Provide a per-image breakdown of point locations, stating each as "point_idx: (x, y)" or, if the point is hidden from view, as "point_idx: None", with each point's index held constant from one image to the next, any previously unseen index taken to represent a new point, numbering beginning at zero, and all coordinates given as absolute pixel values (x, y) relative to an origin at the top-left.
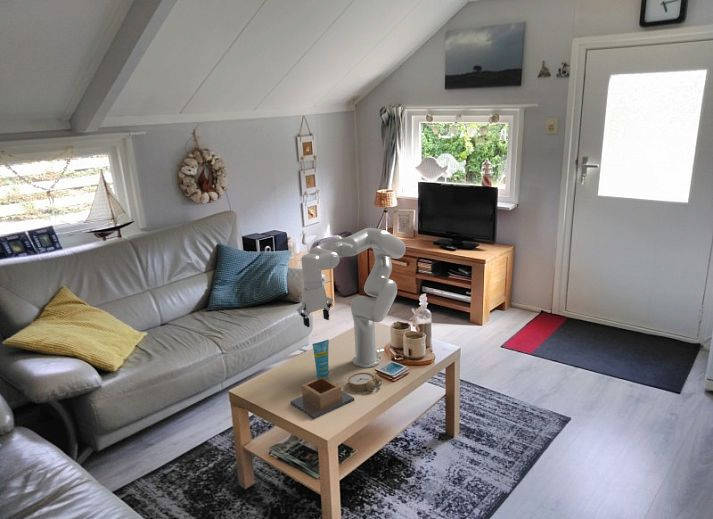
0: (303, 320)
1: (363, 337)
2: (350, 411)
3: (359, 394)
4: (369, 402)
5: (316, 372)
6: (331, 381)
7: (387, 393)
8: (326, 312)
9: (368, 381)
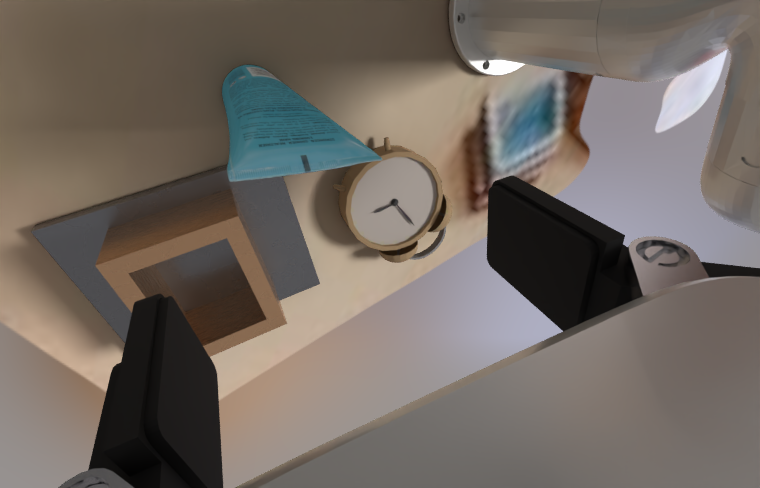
0: (101, 427)
1: (586, 65)
2: (280, 330)
3: (348, 248)
4: (353, 299)
5: (225, 103)
6: (264, 274)
7: (420, 268)
8: (565, 323)
9: (401, 256)
